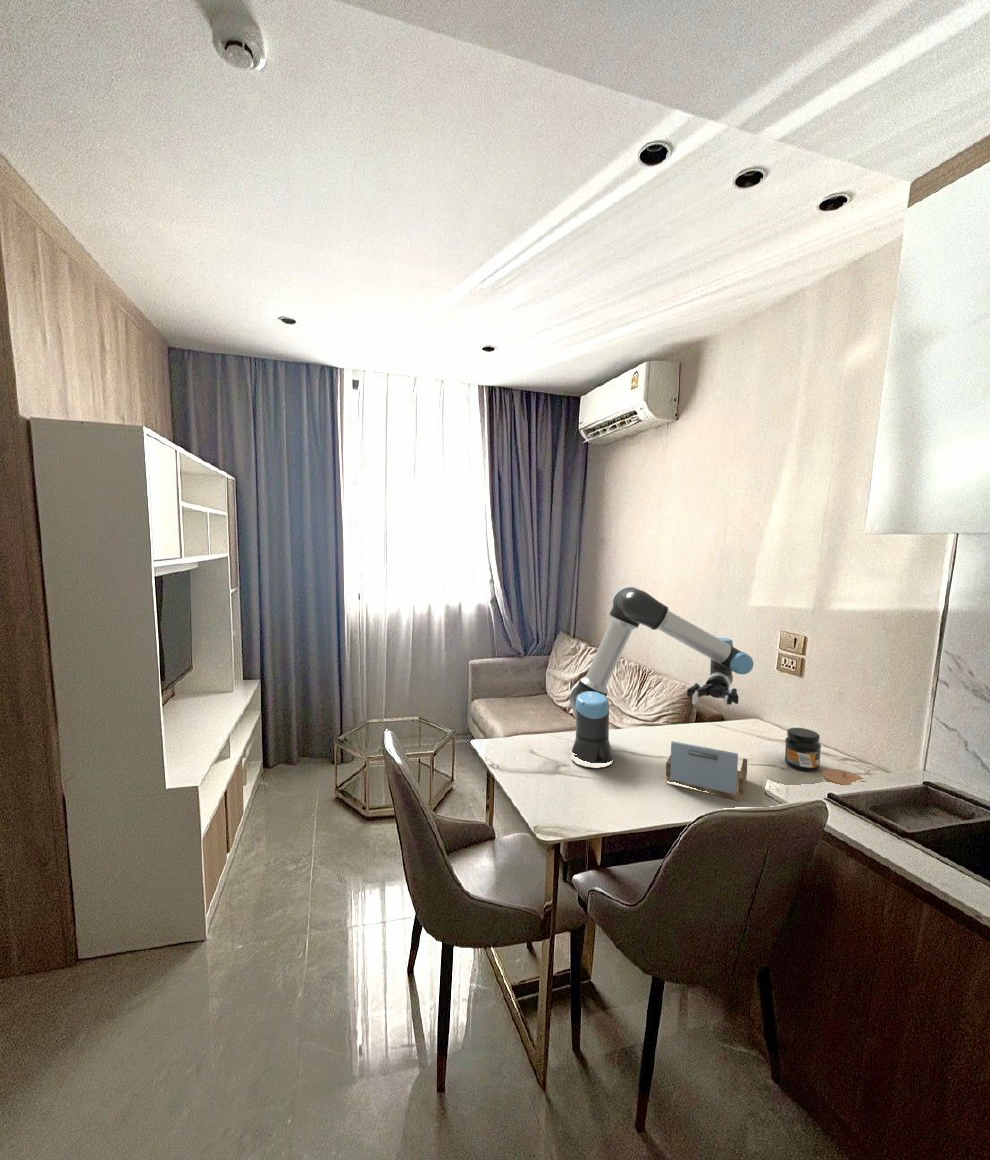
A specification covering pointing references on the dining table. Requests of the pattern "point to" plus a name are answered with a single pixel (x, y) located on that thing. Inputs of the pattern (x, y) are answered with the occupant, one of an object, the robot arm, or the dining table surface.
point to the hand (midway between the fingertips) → (708, 702)
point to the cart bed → (739, 796)
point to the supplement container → (802, 749)
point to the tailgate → (704, 767)
